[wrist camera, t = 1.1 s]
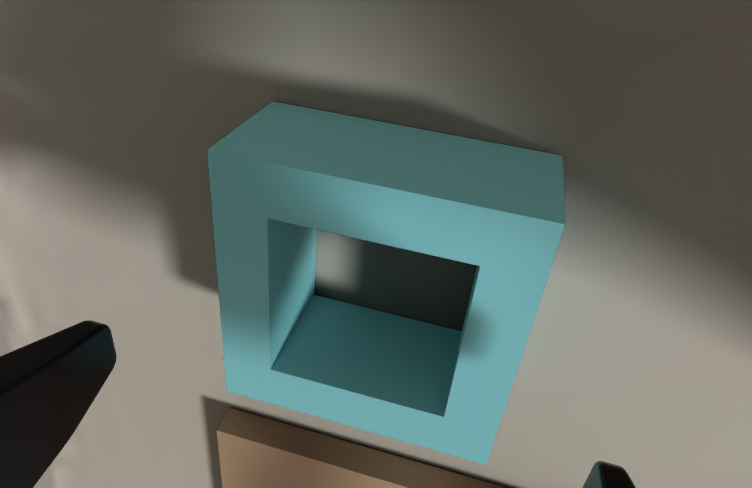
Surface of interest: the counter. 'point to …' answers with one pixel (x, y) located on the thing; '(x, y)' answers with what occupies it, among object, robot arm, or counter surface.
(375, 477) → the base plate
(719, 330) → the counter surface
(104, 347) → the robot arm
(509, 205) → the ring
